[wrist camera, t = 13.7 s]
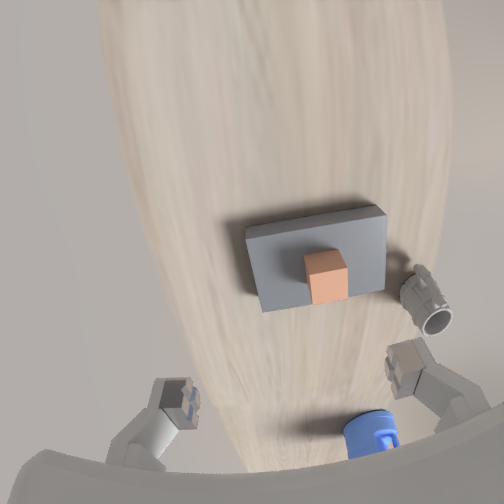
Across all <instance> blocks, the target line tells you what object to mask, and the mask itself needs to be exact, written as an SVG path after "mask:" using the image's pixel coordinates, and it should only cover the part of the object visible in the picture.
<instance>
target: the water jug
mask: <svg viewBox="0 0 504 504" xmlns="http://www.w3.org/2000/svg"><path fill="white" fill-rule="evenodd" d="M343 433H344V437H345V440H346V445H347V450H348V458H349V460H350V459H354V458H359V457H363V456H367V455H371V454H375V453H378V452H382V451H385V450H388V444H389V443H390V441H392V442H393V446H394V448H396V447H399V446H400V444H399V441H398V438H397V433H398V432H397V429H396V426H395V423H394V417H393V415H392V413H390V412H388V411H383V410H380V411H373V412H369V413H366V414H363V415H360V416H358V417H356V418H354V419H353V420H351V421H350V422H349V423H348V424H347V425H346V426H345V427H344V430H343Z"/></svg>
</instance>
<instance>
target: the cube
mask: <svg viewBox="0 0 504 504" xmlns="http://www.w3.org/2000/svg"><path fill="white" fill-rule="evenodd" d="M304 261H305V269H306V277H307V285H308V289H309V292H310V296H311V300H312V304H313V305H316V304H322V303H327V302H332V301H337V300H342V299H347V298H348V268H347V266H346V264H345V262H344V260H343V258H342V256H341V254H340V252H339V250H338V249H336V250H331V251H325V252H320V253H314V254H308V255H304Z"/></svg>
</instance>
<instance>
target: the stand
mask: <svg viewBox="0 0 504 504" xmlns="http://www.w3.org/2000/svg"><path fill="white" fill-rule="evenodd" d="M386 237H387V215H386V214H385V213H384V212H383V211H382V210H381V209H380V208H379V207H378V206H377V205H373V206H367V207H361V208H354V209H348V210H342V211H336V212H330V213H324V214H318V215H312V216H306V217H301V218H295V219H289V220H283V221H278V222H272V223H267V224H261V225H256V226H250V227H246V233H245V241H246V245H247V249H248V253H249V258H250V262H251V266H252V270H253V275H254V279H255V283H256V287H257V291H258V296H259V300H260V304H261V308H262V312H269V311H276V310H282V309H288V308H293V307H299V306H305V305H310V304H312V300H311V296H310V292H309V289H308V285H307V277H306V269H305V261H304V255H308V254H314V253H320V252H325V251H331V250H336V249H338V250H339V252H340V254H341V256H342V258H343V260H344V262H345V264H346V266H347V268H348V297H352V296H357V295H361V294H366V293H371V292H375V291H380V290H384V288H385V271H386Z"/></svg>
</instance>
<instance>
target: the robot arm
mask: <svg viewBox="0 0 504 504" xmlns="http://www.w3.org/2000/svg"><path fill="white" fill-rule="evenodd" d="M386 352H387V355H388V356H387V357H386V359H385V372H386V376H387V379H388V380H389V381H391V382H392V385H391V390H392V392H393V395H394V398H395V400H397V399H401V398H404V397H408V396H411V395H414V397H416V398H417V399H418V400H419V401H421V402H422V403H423V404H424V405H425V406H427V407H428V408H429V409H430V410H432V411H433V412H434V413H435V414H437V415H438V416H439V417H440V418H441V419H440V421H439V422H438V424H437V426H436V427H435V429H434V432H435V434H434V435H431V436H429V437H426V438H423V439H420V440H417V441H414V442H411V443H408V444H405V445H402V446H399V447H396V448H392V449H389V450H385V451H382V452H378V453H375V454H371V455H367V456H363V457H359V458H354V459H350V460H345V461H340V462H335V463H330V464H324V465H319V466H312V467H306V468H298V469H290V470H281V471H271V472H258V473H238V474H197V473H177V472H166V467H165V465H163V464H162V463H161V462H160V461H159V460H157V459H158V458H159V456H160V455H161V454H162V453H163V451H164V450H165V449H166V447H167V446H168V445H169V443H170V442H171V441H172V439H173V438H174V437H175V435H176V434H177V433H178V431H179V430H186V429H197V425H198V417H199V416H198V415H197V413H196V412H197V411H198V409H199V408H200V395H199V391H198V390H197V388H196V387H194V386H193V381H192V379H191V378H190V377H187V378H156V380H155V381H154V384H153V388H152V392H151V396H150V399H149V403H148V407H147V408H144V409H143V410H142V411H141V412H140V413H139V414H138V415H137V416H136V417H135V418H134V419H133V420H132V421H131V422H130V423H129V424H128V425H127V426H126V427H125V428H124V429H123V430H122V431H121V432H119V433H118V434H117V435H116V437H114V438H113V439H112V440H111V444H110V447H109V451H108V455H107V458H106V462H105V463H101V462H96V461H91V460H87V459H82V458H78V457H74V456H70V455H66V454H63V453H60V452H56V451H53V450H48V449H45V450H42V451H40V452H39V453H37V454H36V455H35V456H33V457H32V458H31V459H30V460H28V461H27V462H26V463H25V464H24V465H23V466H22V468H21V470H20V471H19V473H18V475H17V478H16V480H15V483H14V485H13V488H12V490H11V493H10V497H9V500H8V503H7V504H504V402H503V403H501V404H499V405H497V406H495V407H493V408H491V407H490V405H489V403H488V401H487V400H486V398H485V396H484V394H483V392H482V390H481V388H480V387H479V386H478V385H476V384H474V383H473V382H471V381H469V380H467V379H466V378H464V377H462V376H461V375H459V374H457V373H455V372H453V371H452V370H450V369H448V368H447V367H445V366H443V365H441V364H436V362H435V360H434V358H433V356H432V354H431V352H430V351H429V349H428V347H427V345H426V343H425V341H424V340H423V338H422V337H418V338H415V339H412V340H407V341H404V342H400V343H397V344H393V345H389V346H388V347H387V351H386Z"/></svg>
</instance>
